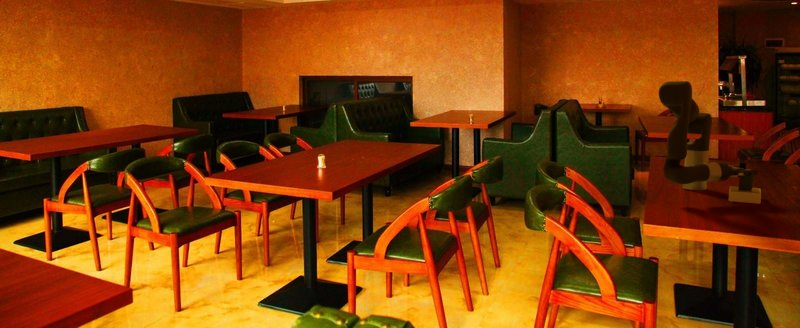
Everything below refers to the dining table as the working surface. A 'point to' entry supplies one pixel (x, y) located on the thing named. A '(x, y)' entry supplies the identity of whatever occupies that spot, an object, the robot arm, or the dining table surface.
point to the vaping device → (745, 178)
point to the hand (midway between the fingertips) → (749, 170)
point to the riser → (744, 195)
